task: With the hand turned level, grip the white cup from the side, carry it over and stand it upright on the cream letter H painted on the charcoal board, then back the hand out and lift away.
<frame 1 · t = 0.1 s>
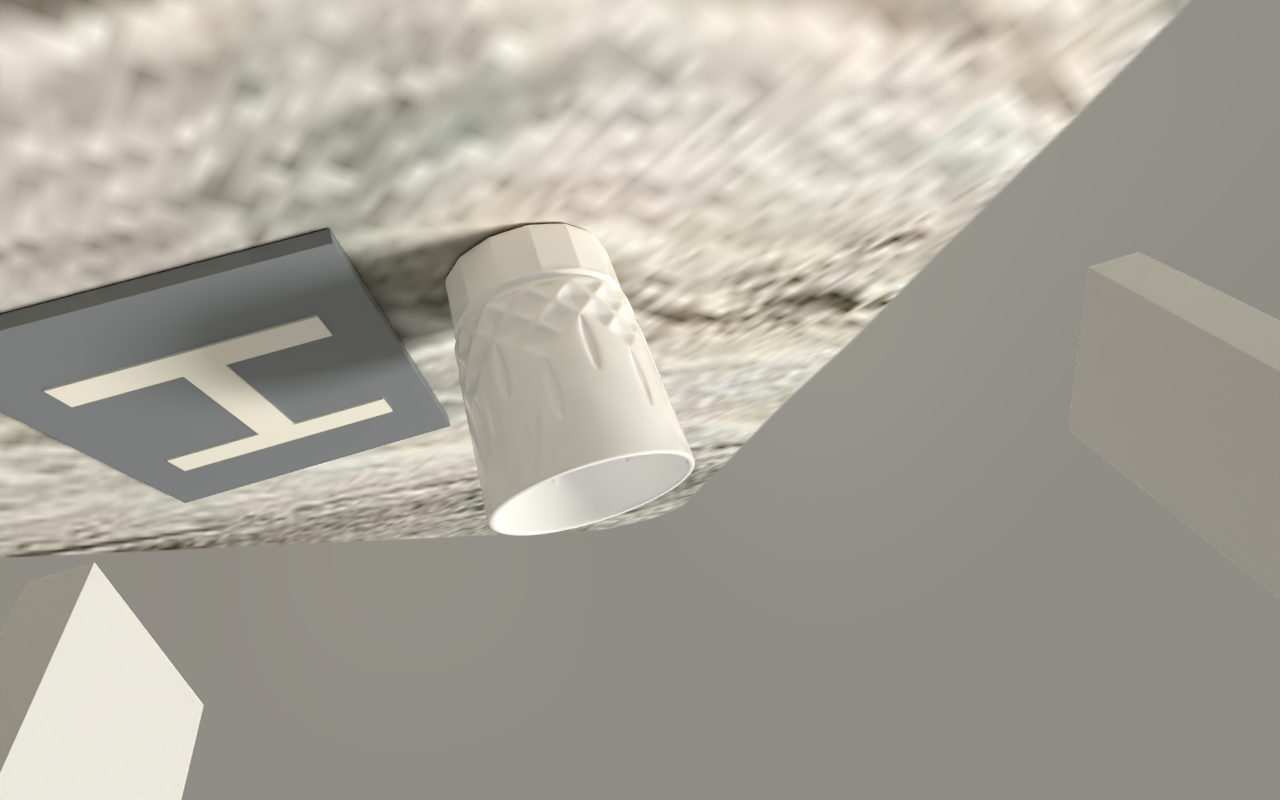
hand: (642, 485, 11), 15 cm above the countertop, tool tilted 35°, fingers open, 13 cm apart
white cup: (524, 267, 34), on the countertop
letter board: (241, 388, 36), on the countertop
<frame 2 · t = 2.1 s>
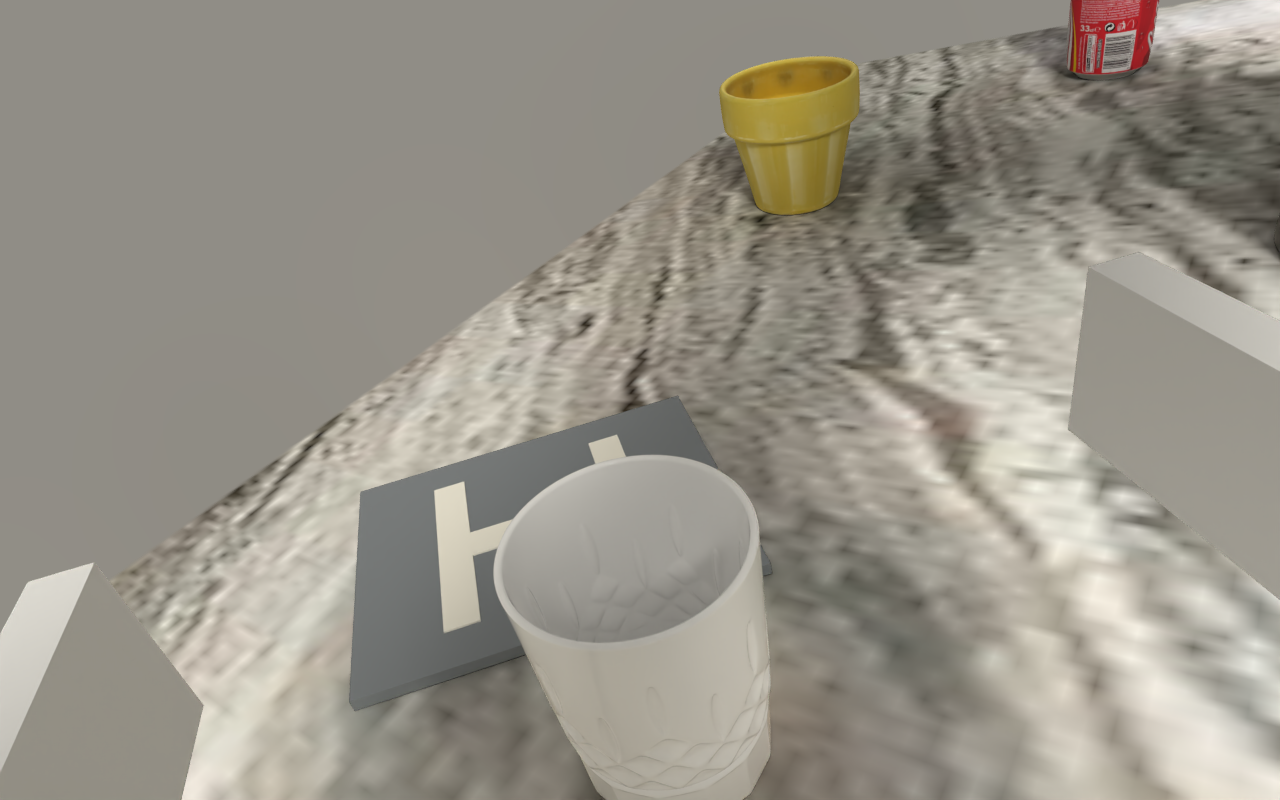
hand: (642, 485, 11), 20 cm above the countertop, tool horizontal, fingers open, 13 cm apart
plant pot: (798, 201, 68), on the countertop
white cup: (679, 742, 30), on the countertop
soda can: (1105, 74, 79), on the countertop
letter board: (543, 532, 40), on the countertop
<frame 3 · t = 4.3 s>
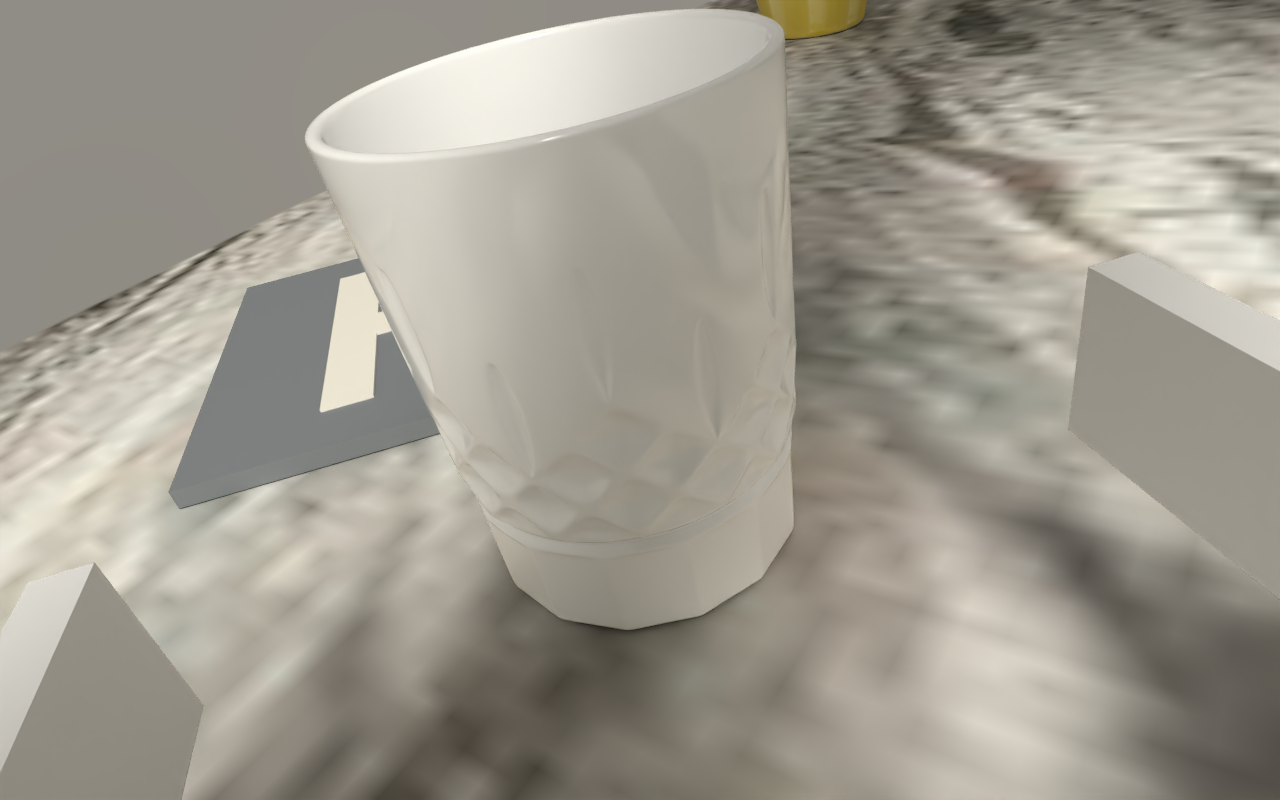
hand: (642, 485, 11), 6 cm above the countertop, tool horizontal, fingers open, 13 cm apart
plant pot: (815, 29, 57), on the countertop
white cup: (650, 523, 19), on the countertop
letter board: (478, 313, 30), on the countertop
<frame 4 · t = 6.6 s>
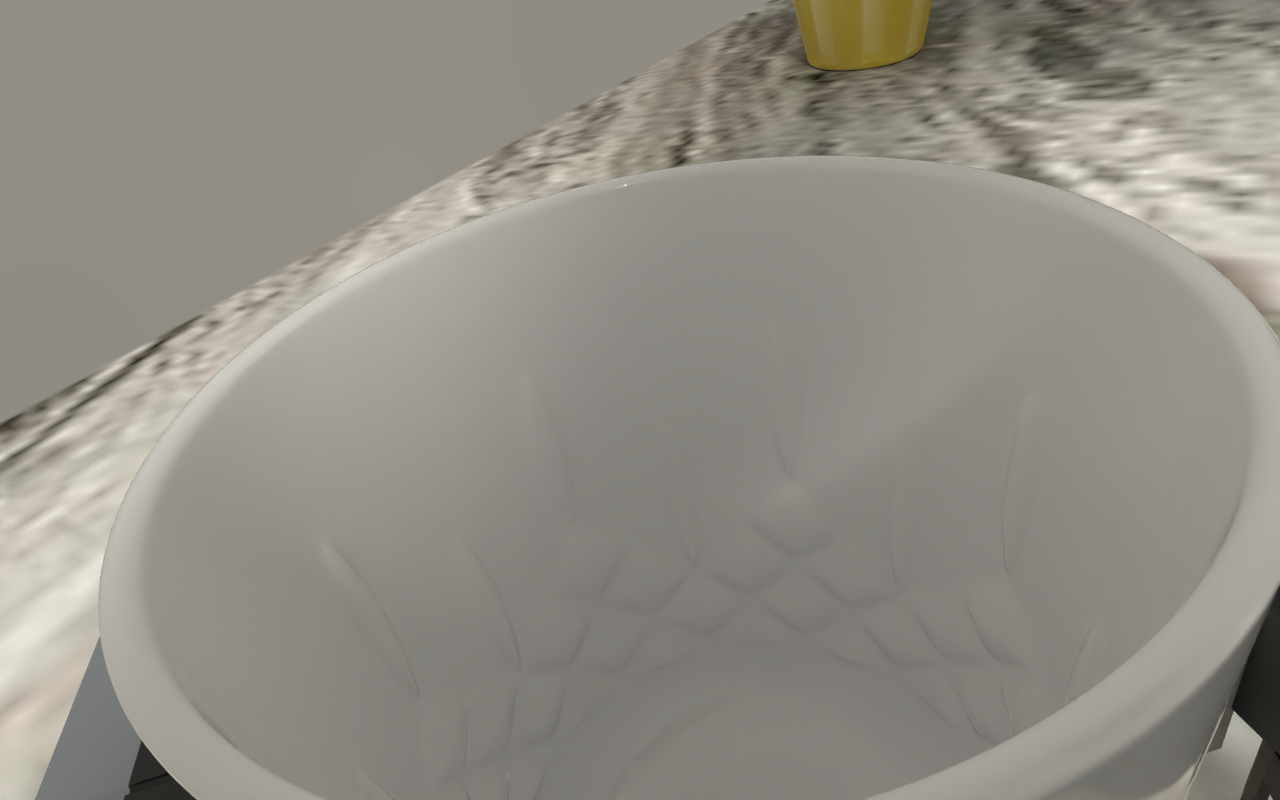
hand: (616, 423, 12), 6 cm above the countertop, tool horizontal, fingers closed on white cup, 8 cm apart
plant pot: (866, 58, 50), on the countertop
letter board: (486, 474, 22), on the countertop
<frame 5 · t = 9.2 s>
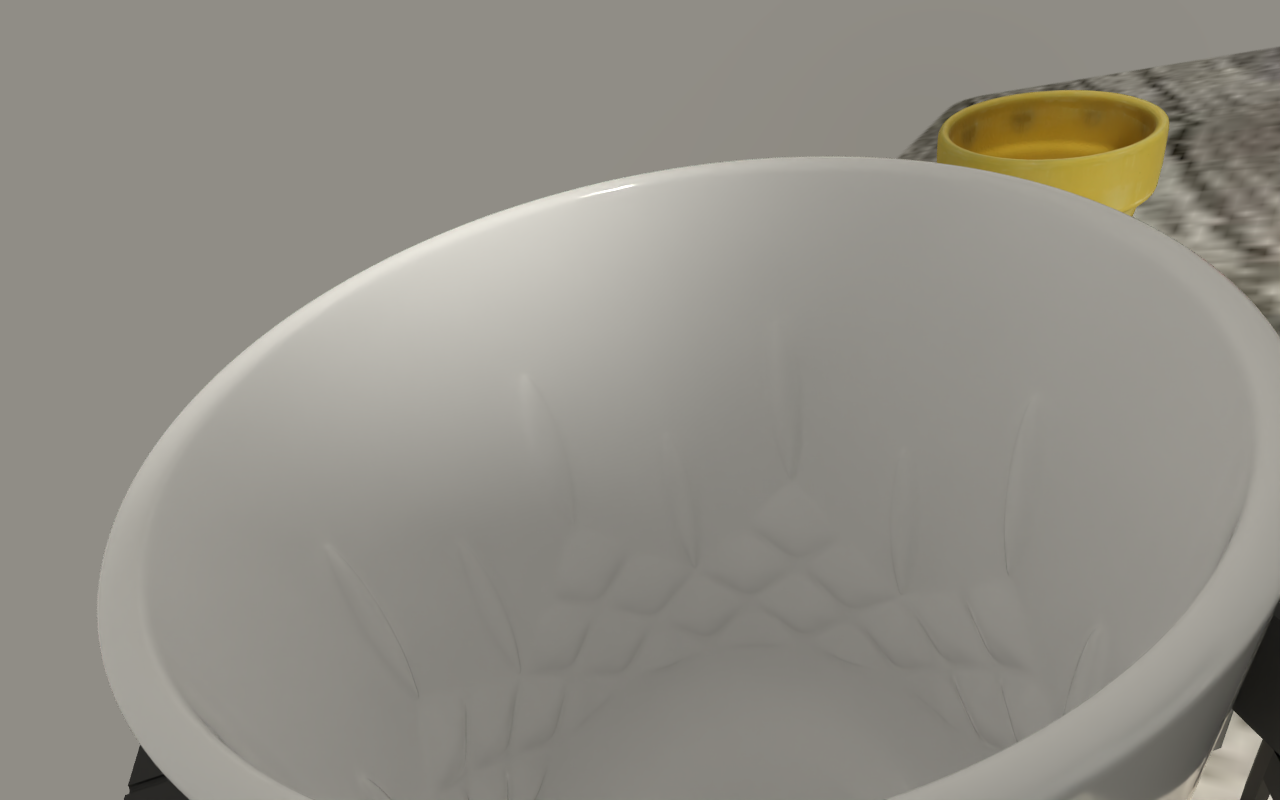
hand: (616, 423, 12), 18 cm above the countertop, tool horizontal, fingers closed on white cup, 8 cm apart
plant pot: (1032, 299, 47), on the countertop
when the fingers open (7 cm above the countertop, at t = 11.7 s): white cup stays where it is, resting on letter board.
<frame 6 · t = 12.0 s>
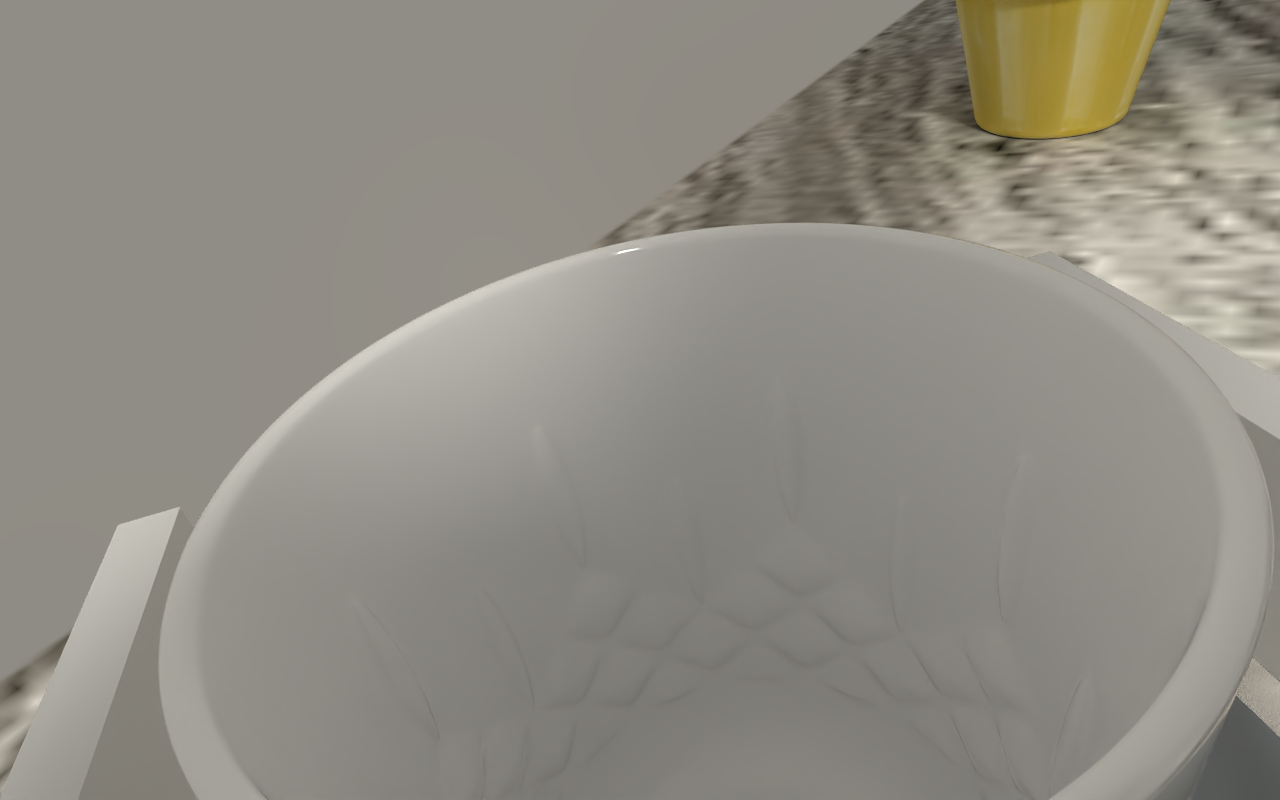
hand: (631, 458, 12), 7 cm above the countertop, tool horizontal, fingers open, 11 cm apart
plant pot: (1050, 120, 40), on the countertop
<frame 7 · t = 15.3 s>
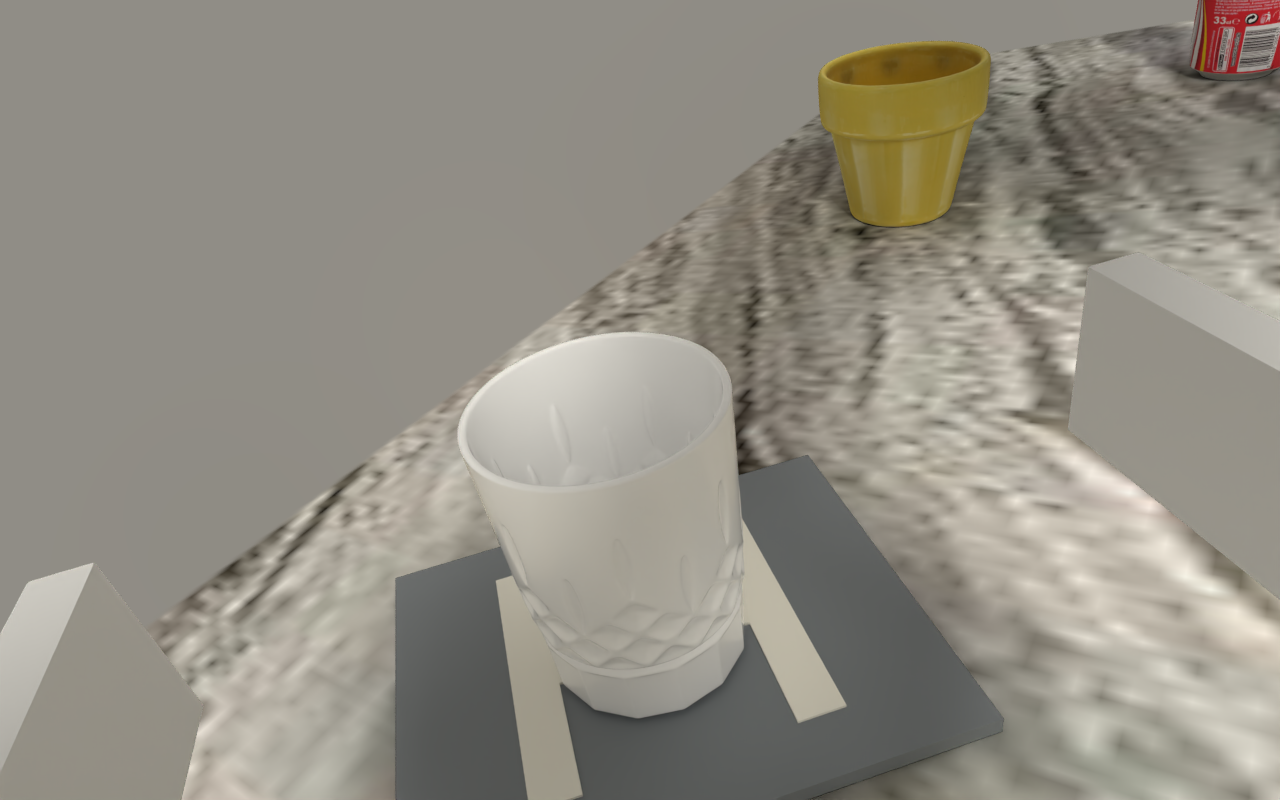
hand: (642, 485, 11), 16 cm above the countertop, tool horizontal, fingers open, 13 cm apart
plant pot: (901, 211, 58), on the countertop
white cup: (650, 640, 29), point 1 cm above the countertop, touching letter board
soda can: (1234, 74, 69), on the countertop
letter board: (652, 648, 30), on the countertop
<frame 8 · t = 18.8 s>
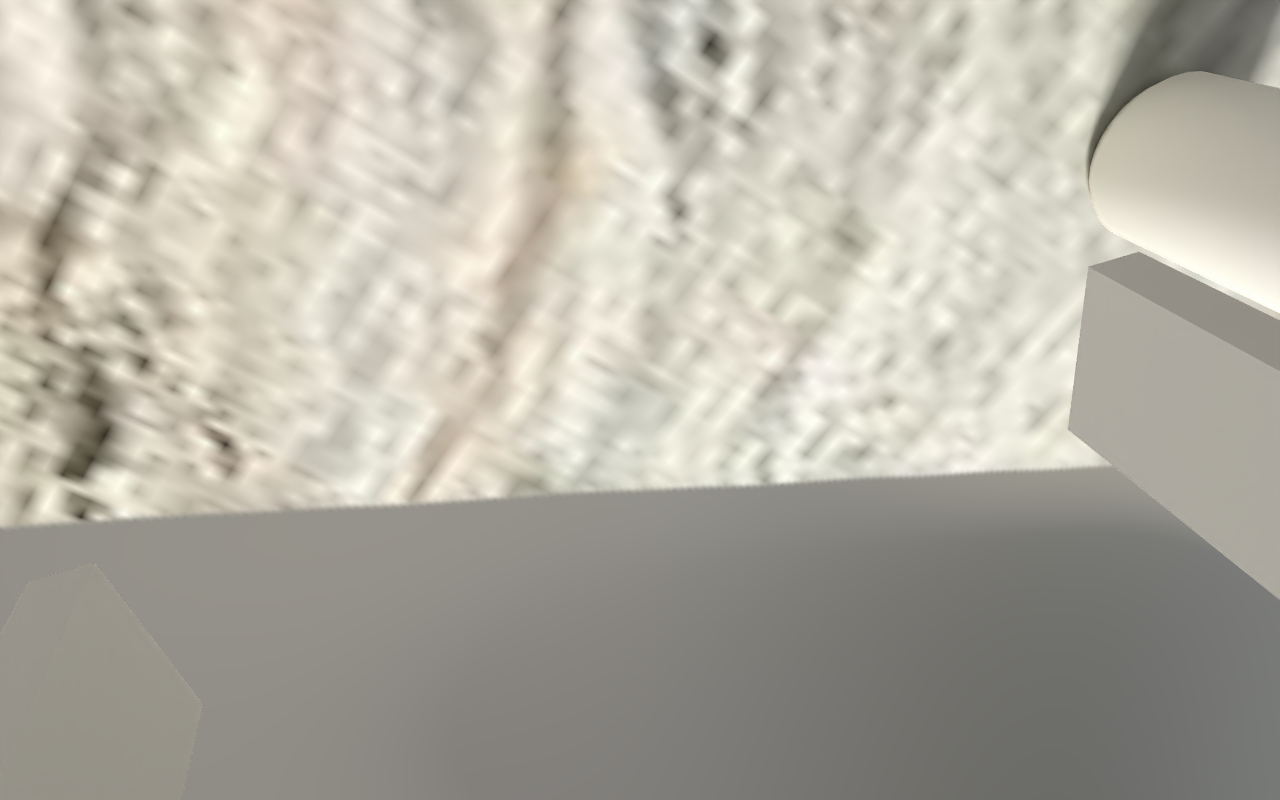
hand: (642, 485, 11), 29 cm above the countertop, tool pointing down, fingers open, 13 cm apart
alcohol: (1150, 153, 45), on the countertop
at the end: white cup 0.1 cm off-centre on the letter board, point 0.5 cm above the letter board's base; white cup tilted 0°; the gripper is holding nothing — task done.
